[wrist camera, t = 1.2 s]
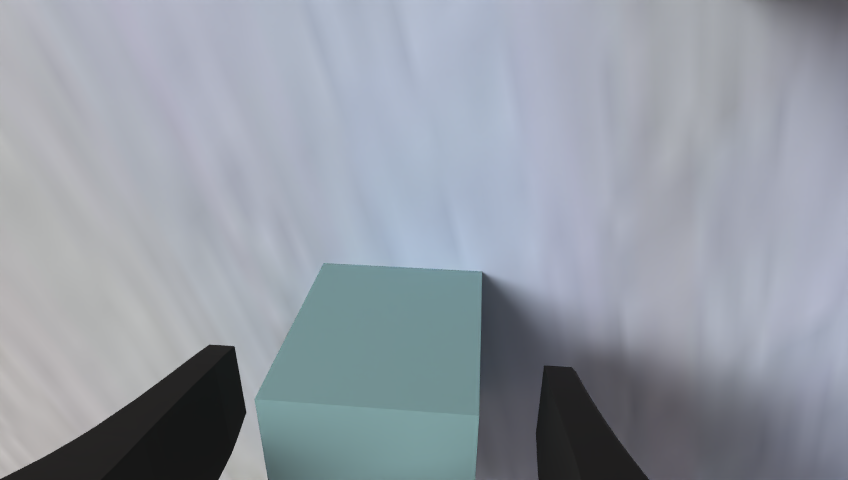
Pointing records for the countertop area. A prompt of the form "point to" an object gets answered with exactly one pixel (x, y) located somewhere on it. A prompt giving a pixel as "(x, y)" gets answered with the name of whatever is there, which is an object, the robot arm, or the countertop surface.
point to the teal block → (377, 378)
